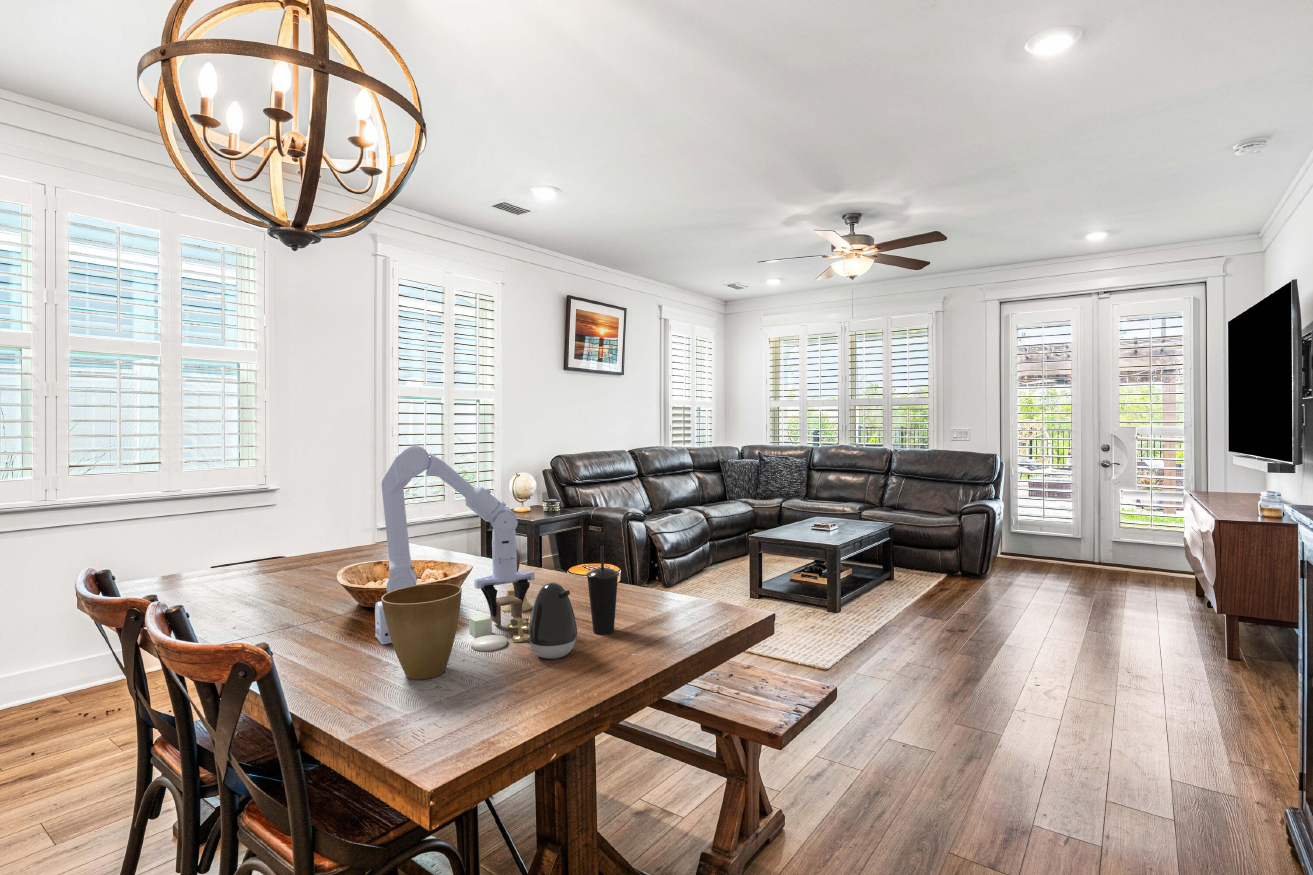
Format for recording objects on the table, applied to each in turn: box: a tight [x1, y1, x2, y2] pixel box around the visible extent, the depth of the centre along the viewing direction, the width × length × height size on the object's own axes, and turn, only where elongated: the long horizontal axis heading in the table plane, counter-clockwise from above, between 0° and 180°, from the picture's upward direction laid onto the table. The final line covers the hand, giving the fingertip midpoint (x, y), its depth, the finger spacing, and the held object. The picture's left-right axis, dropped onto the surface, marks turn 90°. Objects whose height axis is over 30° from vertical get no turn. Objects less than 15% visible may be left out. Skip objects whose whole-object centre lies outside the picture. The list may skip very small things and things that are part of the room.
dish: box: [470, 634, 508, 652], centre depth 144 cm, size 8×8×1 cm
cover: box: [490, 595, 523, 627], centre depth 159 cm, size 6×6×5 cm
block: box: [468, 613, 493, 639], centre depth 152 cm, size 4×4×4 cm
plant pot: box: [380, 583, 463, 681], centre depth 128 cm, size 15×15×16 cm
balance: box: [507, 617, 530, 644], centre depth 147 cm, size 4×11×6 cm, turn 34°
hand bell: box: [501, 547, 533, 613], centre depth 173 cm, size 8×8×16 cm
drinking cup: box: [585, 545, 620, 636], centre depth 152 cm, size 8×8×20 cm
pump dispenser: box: [527, 582, 578, 660], centre depth 137 cm, size 10×10×15 cm
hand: (505, 613), depth 159 cm, fingers closed on cover, 6 cm apart
